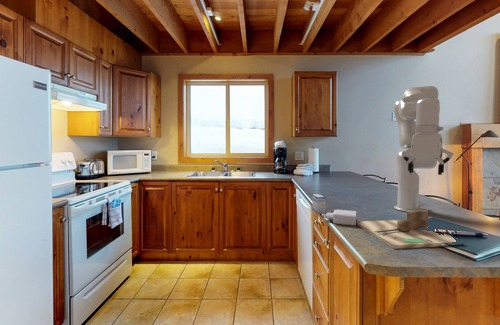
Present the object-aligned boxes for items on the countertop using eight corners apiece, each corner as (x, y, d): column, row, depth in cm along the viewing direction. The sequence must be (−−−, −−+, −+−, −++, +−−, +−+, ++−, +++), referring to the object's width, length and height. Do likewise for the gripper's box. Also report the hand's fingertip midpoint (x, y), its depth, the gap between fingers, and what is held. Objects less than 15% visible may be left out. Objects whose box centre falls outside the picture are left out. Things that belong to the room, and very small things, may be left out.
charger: (323, 217, 125) (356, 220, 119) (320, 222, 117) (355, 226, 111) (323, 207, 125) (356, 210, 119) (320, 212, 117) (355, 216, 111)
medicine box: (312, 209, 138) (312, 194, 137) (320, 209, 138) (320, 193, 138) (317, 214, 130) (317, 197, 130) (325, 213, 131) (325, 197, 130)
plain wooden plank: (421, 225, 106) (422, 208, 106) (431, 228, 102) (432, 211, 101) (373, 231, 100) (373, 213, 100) (381, 235, 96) (381, 216, 95)
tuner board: (411, 222, 115) (411, 218, 115) (463, 245, 90) (463, 241, 89) (355, 224, 113) (355, 221, 113) (393, 248, 87) (393, 244, 87)
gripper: (456, 129, 97) (454, 174, 98) (404, 131, 110) (403, 171, 111) (452, 129, 92) (450, 176, 93) (399, 131, 104) (398, 172, 106)
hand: (425, 173), depth 102 cm, fingers open, 9 cm apart
